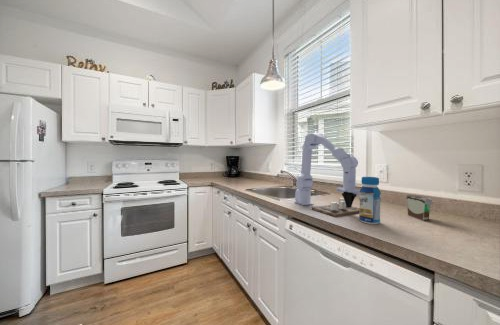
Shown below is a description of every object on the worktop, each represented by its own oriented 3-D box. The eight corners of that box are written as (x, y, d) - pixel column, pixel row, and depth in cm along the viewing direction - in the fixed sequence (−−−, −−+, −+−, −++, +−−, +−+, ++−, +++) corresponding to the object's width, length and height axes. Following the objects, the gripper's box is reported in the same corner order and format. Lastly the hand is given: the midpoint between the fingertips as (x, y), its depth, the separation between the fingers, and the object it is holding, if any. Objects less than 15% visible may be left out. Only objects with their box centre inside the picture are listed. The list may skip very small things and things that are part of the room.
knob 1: (330, 209, 106) (330, 202, 106) (333, 208, 107) (333, 201, 107) (333, 210, 104) (333, 203, 104) (337, 209, 106) (337, 202, 105)
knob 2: (338, 204, 117) (338, 198, 117) (341, 204, 118) (341, 197, 118) (341, 205, 115) (341, 198, 115) (344, 204, 117) (344, 198, 116)
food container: (439, 222, 92) (440, 200, 92) (425, 222, 92) (426, 199, 92) (417, 214, 104) (418, 195, 104) (405, 214, 104) (405, 194, 104)
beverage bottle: (384, 225, 87) (384, 178, 87) (362, 224, 89) (363, 178, 88) (376, 219, 95) (376, 176, 95) (356, 218, 97) (357, 176, 97)
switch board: (311, 209, 114) (311, 206, 114) (339, 205, 123) (339, 203, 123) (335, 216, 99) (335, 213, 99) (364, 211, 109) (364, 209, 109)
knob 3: (339, 208, 109) (339, 201, 109) (342, 207, 110) (342, 200, 110) (342, 208, 107) (342, 202, 107) (345, 208, 108) (345, 201, 108)
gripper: (332, 179, 110) (331, 204, 110) (356, 182, 97) (356, 211, 97) (341, 179, 113) (341, 203, 113) (366, 181, 100) (366, 209, 100)
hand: (348, 207), depth 105 cm, fingers closed
